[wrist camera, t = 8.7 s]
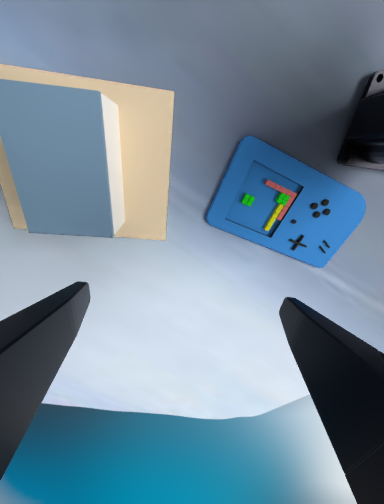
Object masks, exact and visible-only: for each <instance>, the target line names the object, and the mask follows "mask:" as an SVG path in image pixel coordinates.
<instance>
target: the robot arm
mask: <svg viewBox="0 0 384 504" xmlns="http://www.w3.org/2000/svg"><path fill="white" fill-rule="evenodd" d="M377 77H379V80H378V82H377V81H376V79H377ZM345 156H346V159H345V160H343V159H344V157H345ZM337 161H338V163H339V164H341V165H349V166H356V167H364V168H371V169H379V170H384V70H379V71H377V72H375V73H373V74H372V75H371V77H370V79H369V81H368V84H367V86H366V89H365V91H364V94H363V96H362V99H361V101H360V103H359V105H358V108H357V110H356V113H355V115H354V118H353V120H352V123H351V125H350V128H349V130H348V133H347V136H346V139H345V141H344V144H343V146H342V149H341V151H340V154H339V156H338V159H337ZM89 303H90V291H89V284H88V283H87V282H76V283H74V284H72V285H70V286H68V287H66V288H64V289H62V290H60V291H58V292H56V293H54V294H52V295H50V296H48V297H46V298H44V299H42V300H41V301H39V302H37V303H35V304H33V305H31V306H29V307H27V308H25V309H23V310H21V311H19V312H17V313H15V314H13V315H11V316H9V317H8V318H6V319H4V320H2V321H0V480H1V478H2V477H3V475H4V473H5V471H6V469H7V467H8V465H9V463H10V461H11V459H12V458H13V456H14V454H15V452H16V450H17V448H18V446H19V444H20V442H21V440H22V438H23V437H24V435H25V433H26V431H27V429H28V427H29V425H30V423H31V421H32V420H33V418H34V416H35V414H36V412H37V410H38V408H39V406H40V404H41V402H42V401H43V399H44V397H45V395H46V393H47V391H48V389H49V387H50V385H51V383H52V381H53V380H54V378H55V376H56V374H57V372H58V370H59V368H60V366H61V364H62V362H63V361H64V359H65V357H66V355H67V353H68V351H69V349H70V347H71V345H72V343H73V341H74V340H75V337H76V335H77V333H78V331H79V328H80V326H81V323H82V321H83V318H84V316H85V313H86V310H87V308H88V305H89ZM279 315H280V318H281V322H282V325H283V328H284V331H285V334H286V337H287V340H288V343H289V346H290V348H291V351H292V353H293V355H294V358H295V360H296V362H297V365H298V367H299V369H300V372H301V374H302V376H303V379H304V381H305V383H306V386H307V388H308V390H309V393H310V395H311V397H312V399H313V402H314V404H315V406H316V409H317V411H318V413H319V416H320V418H321V420H322V423H323V425H324V427H325V430H326V432H327V434H328V436H329V439H330V441H331V443H332V446H333V448H334V450H335V453H336V455H337V457H338V460H339V462H340V464H341V467H342V469H343V471H344V473H345V476H346V479H347V481H348V483H349V485H350V488H351V490H352V492H353V495H354V497H355V499H356V502H357V504H384V353H382V352H380V351H378V350H377V349H376V348H374V347H372V346H371V345H369V344H368V343H366V342H364V341H363V340H361V339H360V338H358V337H356V336H355V335H353V334H352V333H350V332H348V331H347V330H345V329H344V328H342V327H340V326H339V325H337V324H336V323H334V322H333V321H331V320H329V319H328V318H326V317H325V316H323V315H321V314H320V313H318V312H317V311H315V310H313V309H312V308H310V307H309V306H307V305H305V304H304V303H302V302H301V301H299V300H297V299H296V298H291V297H286V298H285V299H284V301H283V303H282V305H281V308H280V310H279Z"/></svg>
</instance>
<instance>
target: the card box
mask: <svg viewBox="0 0 384 504" xmlns="http://www.w3.org/2000/svg"><path fill="white" fill-rule="evenodd" d="M0 136H1V140H2V143H3V146H4V150H5V153H6V157H7V160H8V163H9V167H10V170H11V173H12V177H13V180H14V184H15V187H16V190H17V194H18V197H19V201H20V204H21V207H22V211H23V214H24V217H25V221H26V224H27V228H28V231H29V233H42V234H59V235H76V236H93V237H110V238H113V236H114V235H115V234H116V233H117V231H118V230H119V229H120V227H121V226H122V225H123V224H124V222H125V210H124V194H123V178H122V162H121V147H120V131H119V115H118V105H117V104H116V103H114V102H113V101H112V100H110V99H109V98H107V97H106V96H105V95H103V94H102V93H101V92H99V91H96V90H88V89H80V88H72V87H64V86H55V85H47V84H39V83H31V82H23V81H15V80H6V79H0Z"/></svg>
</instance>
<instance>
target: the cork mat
mask: <svg viewBox="0 0 384 504" xmlns="http://www.w3.org/2000/svg"><path fill="white" fill-rule="evenodd" d="M0 79H6V80H15V81H23V82H31V83H39V84H47V85H55V86H64V87H72V88H80V89H88V90H96V91H99V92H101V93H102V94H103V95H105V96H106V97H107V98H109V99H110V100H112V101H113V102H114V103H116V104H117V105H118V115H119V131H120V147H121V162H122V178H123V194H124V210H125V222H124V224H123V225H122V226H121V227H120V229H119V230H118V231H117V233H116V234H115V235H114V236H115V237H127V238H139V239H151V240H163V241H165V238H166V222H167V205H168V189H169V173H170V156H171V140H172V123H173V107H174V91H168V90H162V89H156V88H150V87H143V86H137V85H131V84H124V83H118V82H112V81H106V80H99V79H93V78H87V77H80V76H74V75H68V74H62V73H55V72H49V71H43V70H37V69H30V68H24V67H18V66H11V65H5V64H0ZM0 183H1V187H2V190H3V193H4V197H5V200H6V203H7V207H8V210H9V214H10V217H11V220H12V224H13V227H14V228H19V229H28V228H27V224H26V221H25V217H24V214H23V211H22V207H21V204H20V201H19V197H18V194H17V190H16V187H15V184H14V180H13V177H12V173H11V170H10V167H9V163H8V160H7V157H6V153H5V150H4V146H3V143H2V140H1V136H0Z"/></svg>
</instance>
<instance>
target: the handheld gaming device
mask: <svg viewBox="0 0 384 504" xmlns="http://www.w3.org/2000/svg"><path fill="white" fill-rule="evenodd" d="M365 209H366V203H365V200H364V198H363V196H362V195H361V194H360V193H358V192H356V191H354V190H352V189H351V188H349V187H347V186H345V185H343V184H341V183H339V182H337V181H336V180H334V179H332V178H330V177H328V176H326V175H324V174H323V173H321V172H319V171H317V170H315V169H313V168H311V167H309V166H308V165H306V164H304V163H302V162H300V161H298V160H296V159H294V158H293V157H291V156H289V155H287V154H285V153H283V152H281V151H279V150H278V149H276V148H274V147H272V146H270V145H268V144H266V143H265V142H263V141H261V140H259V139H257V138H255V137H253V136H246V137H244V138H243V139H242V140H241V141H240V143H239V145H238V148H237V150H236V152H235V154H234V156H233V158H232V161H231V163H230V165H229V167H228V169H227V171H226V174H225V176H224V178H223V180H222V182H221V184H220V186H219V189H218V191H217V193H216V195H215V197H214V199H213V202H212V204H211V206H210V208H209V210H208V212H207V215H206V219H207V222H208V223H209V224H210V225H212V226H214V227H217V228H219V229H222V230H224V231H227V232H229V233H232V234H234V235H237V236H239V237H242V238H244V239H247V240H250V241H252V242H255V243H257V244H260V245H262V246H265V247H267V248H270V249H272V250H275V251H277V252H280V253H282V254H285V255H287V256H290V257H293V258H295V259H298V260H300V261H303V262H305V263H308V264H310V265H313V266H315V267H318V268H322V267H324V266H325V265H326V264H327V263H328V261H329V260H330V259H331V258H332V256H333V255H334V254H335V253H336V252H337V250H338V249H339V248H340V247H341V245H342V244H343V243H344V242H345V240H346V239H347V238H348V237H349V236H350V234H351V233H352V232H353V231H354V229H355V228H356V227H357V226H358V225H359V223H360V222H361V220H362V218H363V216H364V214H365Z"/></svg>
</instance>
